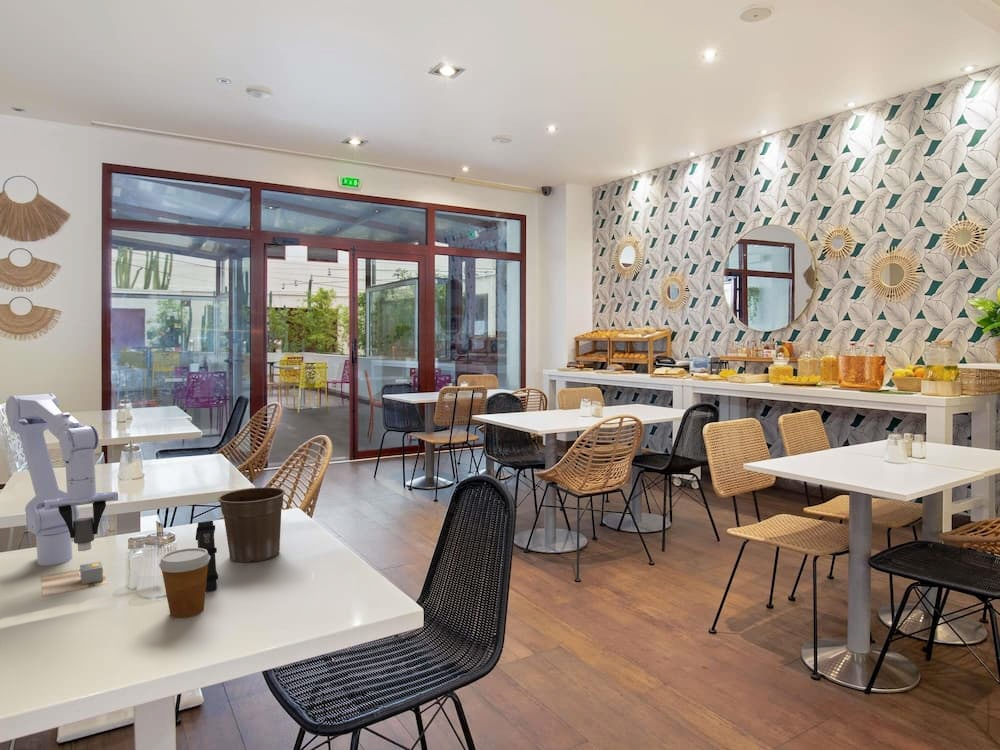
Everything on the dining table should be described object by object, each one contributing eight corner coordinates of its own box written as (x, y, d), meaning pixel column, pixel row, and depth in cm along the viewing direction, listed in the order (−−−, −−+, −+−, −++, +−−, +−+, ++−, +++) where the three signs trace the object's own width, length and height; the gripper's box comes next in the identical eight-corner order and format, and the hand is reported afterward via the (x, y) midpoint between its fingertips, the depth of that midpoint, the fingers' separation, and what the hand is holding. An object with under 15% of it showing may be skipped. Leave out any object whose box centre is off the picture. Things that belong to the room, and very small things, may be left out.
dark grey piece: (74, 548, 153) (72, 519, 153) (94, 545, 156) (92, 516, 155) (74, 553, 150) (73, 523, 150) (95, 549, 152) (93, 520, 152)
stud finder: (80, 578, 149) (79, 564, 149) (101, 574, 151) (100, 560, 151) (82, 584, 145) (81, 570, 145) (102, 580, 147) (102, 566, 147)
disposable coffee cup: (161, 625, 127) (158, 565, 126) (161, 608, 135) (158, 551, 135) (214, 615, 131) (211, 557, 131) (211, 599, 140) (208, 544, 139)
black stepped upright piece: (200, 591, 140) (196, 522, 145) (198, 598, 151) (195, 533, 156) (219, 587, 142) (214, 519, 147) (216, 594, 153) (212, 531, 158)
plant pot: (205, 561, 164) (203, 498, 163) (252, 542, 179) (250, 485, 178) (255, 569, 158) (253, 504, 157) (300, 549, 173) (298, 489, 172)
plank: (41, 582, 151) (41, 575, 151) (101, 571, 158) (101, 564, 158) (42, 603, 139) (42, 595, 139) (107, 589, 146) (107, 582, 146)
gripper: (43, 485, 145) (46, 545, 145) (118, 476, 153) (121, 533, 154) (43, 480, 150) (46, 537, 151) (115, 471, 159) (118, 526, 159)
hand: (83, 535), depth 153 cm, fingers closed on dark grey piece, 4 cm apart
